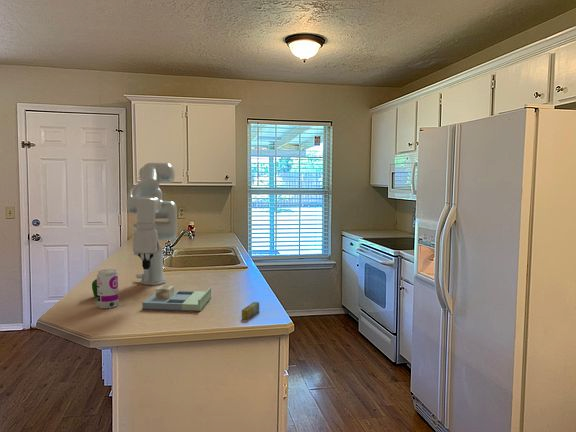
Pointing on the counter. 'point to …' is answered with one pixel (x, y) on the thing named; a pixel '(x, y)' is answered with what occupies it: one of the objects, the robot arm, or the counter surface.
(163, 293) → the maple block
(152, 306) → the slate trap deck
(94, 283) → the bell pepper
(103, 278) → the supplement can
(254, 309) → the medication box
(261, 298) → the counter surface
